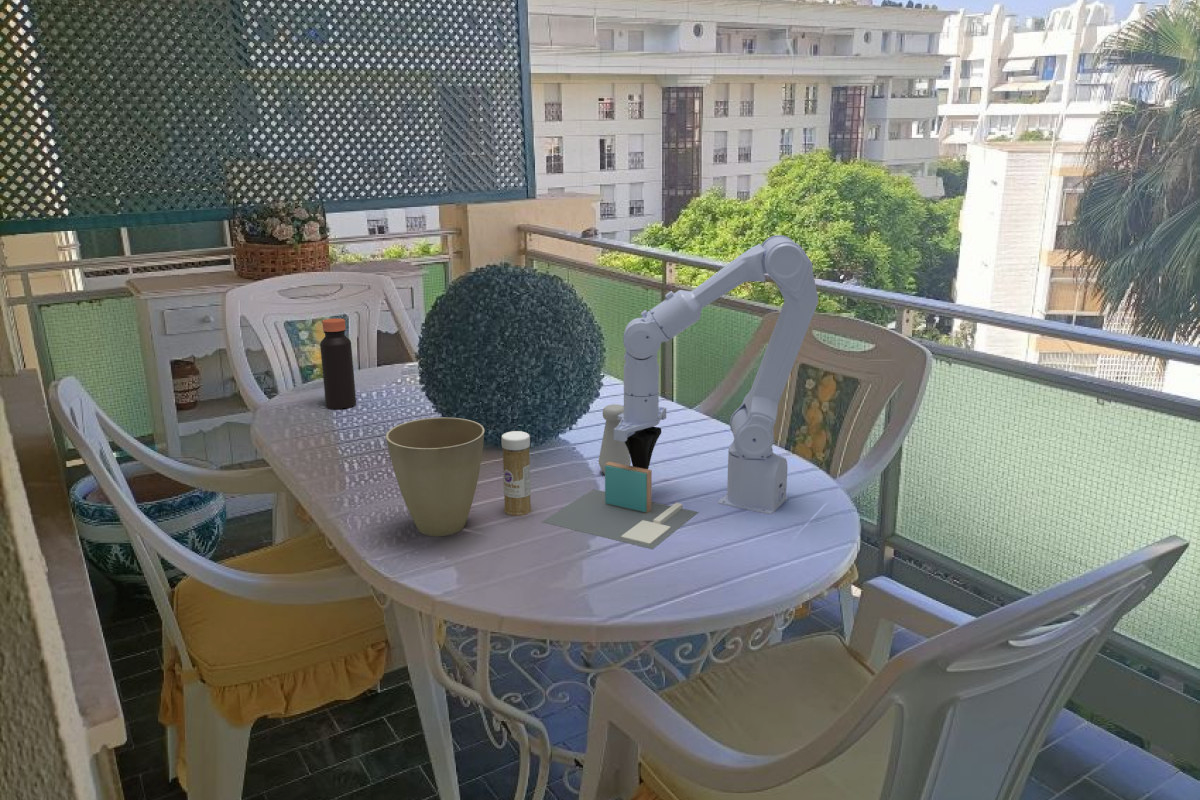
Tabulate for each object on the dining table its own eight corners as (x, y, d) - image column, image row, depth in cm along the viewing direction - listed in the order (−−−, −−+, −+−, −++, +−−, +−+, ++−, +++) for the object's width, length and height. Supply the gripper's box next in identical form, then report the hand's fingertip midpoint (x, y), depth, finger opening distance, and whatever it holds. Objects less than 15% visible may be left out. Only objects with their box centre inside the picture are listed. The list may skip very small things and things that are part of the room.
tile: (651, 510, 149) (651, 470, 147) (646, 513, 148) (646, 473, 146) (609, 500, 153) (608, 461, 151) (604, 504, 152) (604, 464, 150)
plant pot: (375, 527, 144) (367, 431, 140) (452, 501, 154) (447, 411, 150) (428, 557, 134) (422, 454, 130) (507, 527, 144) (504, 431, 140)
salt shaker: (593, 476, 165) (592, 408, 161) (607, 466, 170) (607, 400, 166) (622, 482, 162) (622, 412, 159) (636, 471, 167) (636, 404, 164)
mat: (698, 514, 148) (698, 512, 148) (652, 551, 135) (652, 549, 135) (593, 491, 158) (593, 489, 158) (541, 523, 145) (541, 521, 145)
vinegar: (348, 399, 215) (341, 316, 209) (361, 406, 210) (354, 320, 204) (321, 405, 211) (312, 320, 205) (333, 411, 206) (325, 324, 200)
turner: (665, 504, 151) (665, 500, 151) (693, 510, 149) (693, 506, 148) (620, 538, 139) (620, 533, 139) (649, 545, 136) (649, 540, 136)
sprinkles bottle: (499, 515, 149) (495, 436, 145) (512, 505, 153) (510, 428, 149) (523, 519, 147) (521, 440, 143) (537, 509, 151) (534, 432, 147)
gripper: (641, 379, 157) (640, 453, 161) (597, 399, 145) (597, 479, 149) (677, 384, 153) (676, 460, 157) (636, 405, 141) (635, 487, 145)
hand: (640, 470), depth 153 cm, fingers closed
